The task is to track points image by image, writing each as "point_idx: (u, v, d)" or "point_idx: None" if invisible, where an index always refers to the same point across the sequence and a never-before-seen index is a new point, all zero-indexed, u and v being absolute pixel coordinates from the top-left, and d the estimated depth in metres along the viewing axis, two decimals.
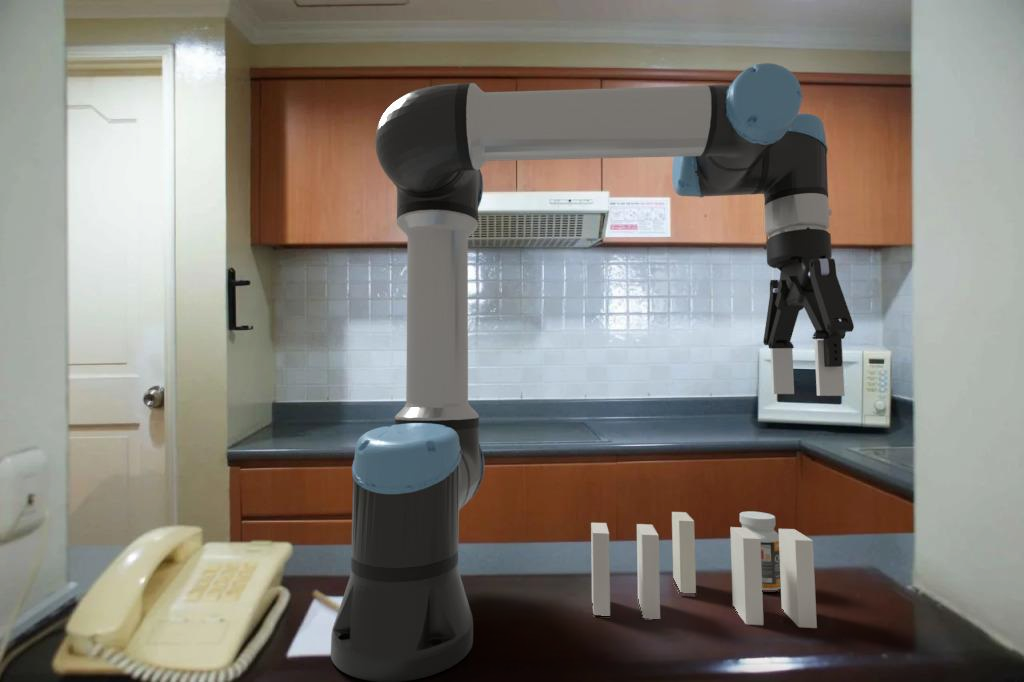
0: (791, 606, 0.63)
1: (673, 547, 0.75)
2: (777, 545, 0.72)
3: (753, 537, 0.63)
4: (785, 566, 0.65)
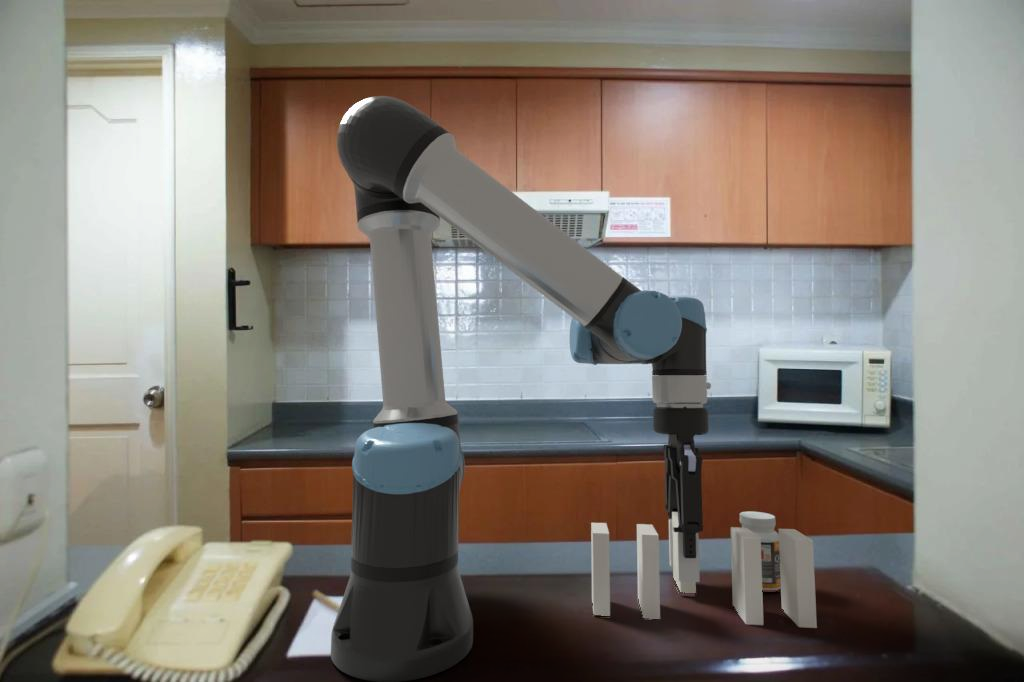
0: (791, 606, 0.63)
1: (673, 547, 0.75)
2: (777, 545, 0.72)
3: (753, 537, 0.63)
4: (786, 566, 0.65)
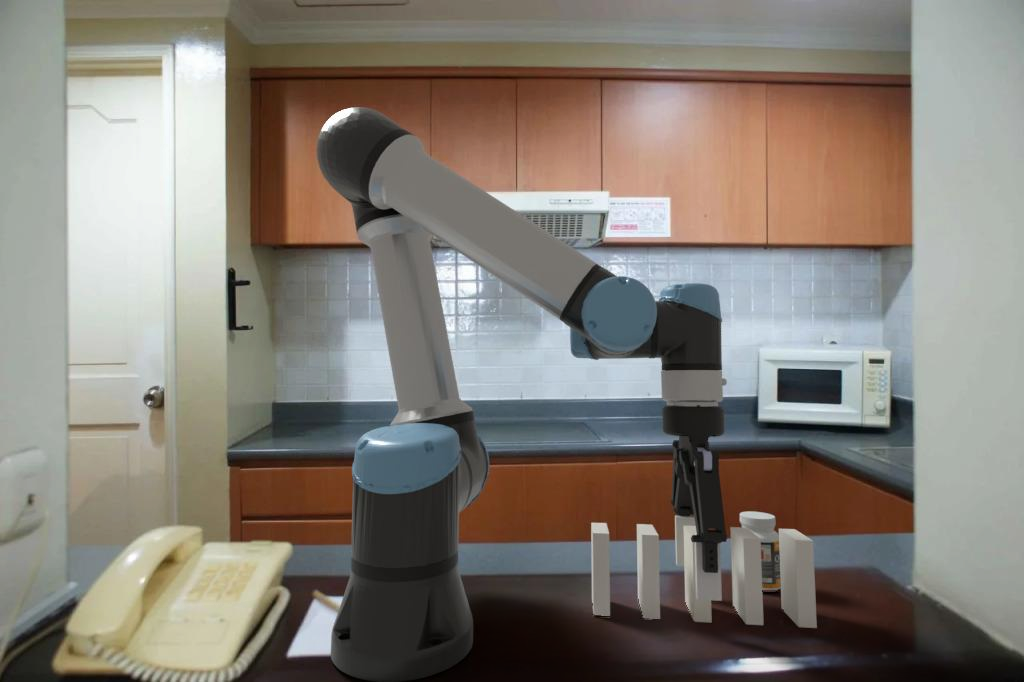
0: (791, 606, 0.63)
1: (685, 565, 0.67)
2: (777, 545, 0.72)
3: (753, 537, 0.63)
4: (786, 566, 0.65)
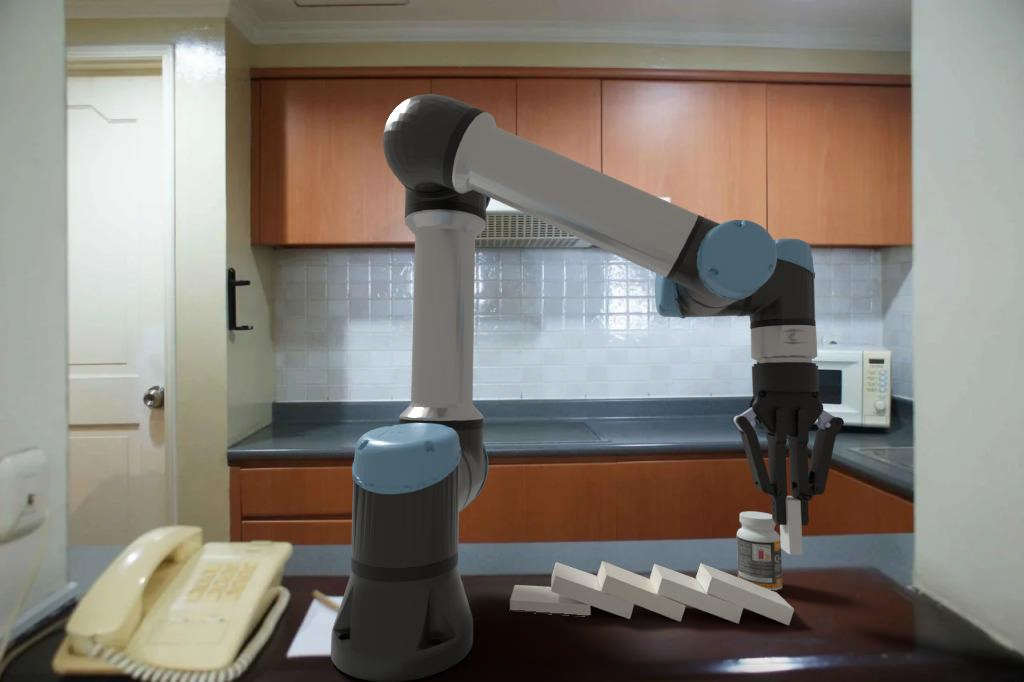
0: None
1: None
2: (777, 545, 0.72)
3: (659, 581, 0.64)
4: None
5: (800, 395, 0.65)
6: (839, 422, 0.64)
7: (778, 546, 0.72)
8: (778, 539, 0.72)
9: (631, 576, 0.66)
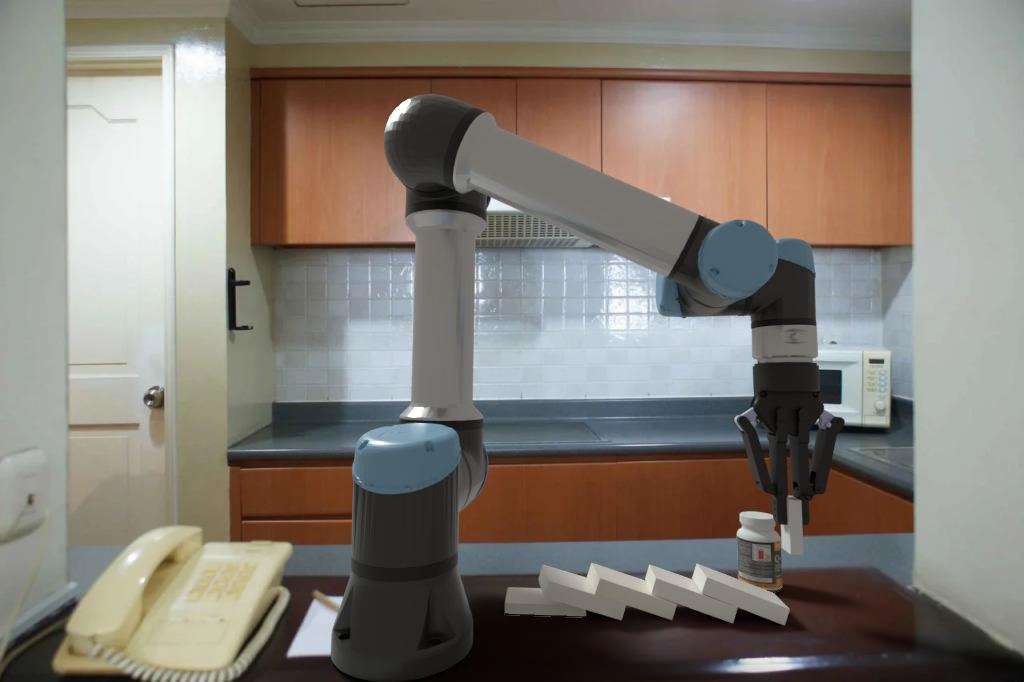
0: None
1: None
2: (777, 545, 0.72)
3: (653, 581, 0.64)
4: None
5: (801, 395, 0.65)
6: (840, 422, 0.64)
7: (778, 546, 0.72)
8: (778, 539, 0.72)
9: (621, 577, 0.66)
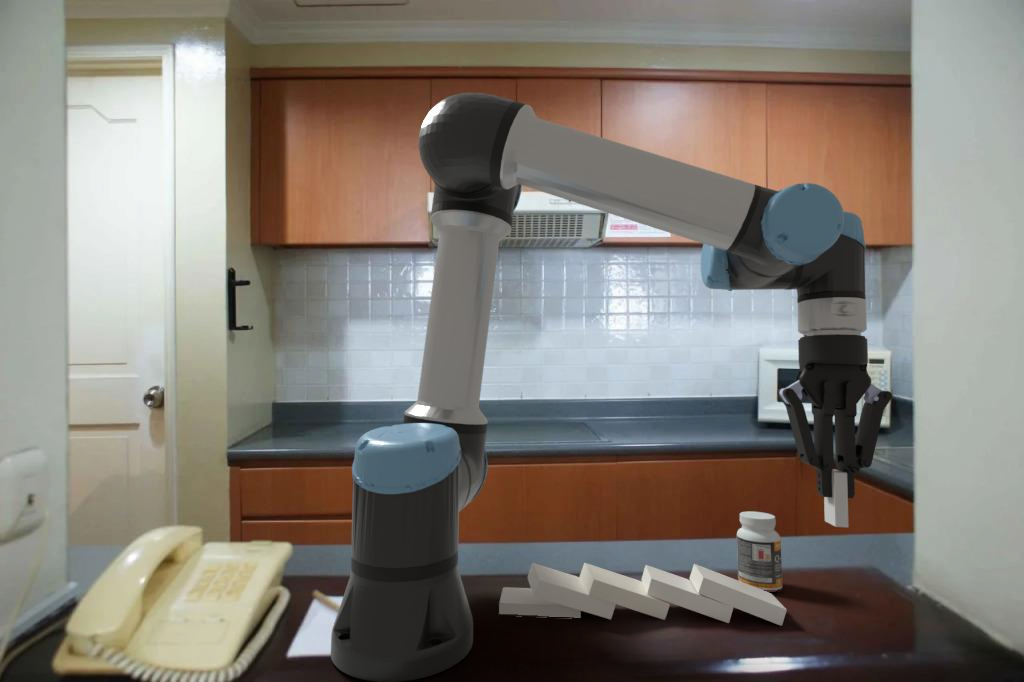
0: None
1: None
2: (777, 545, 0.72)
3: (649, 582, 0.64)
4: None
5: (848, 368, 0.65)
6: (887, 396, 0.64)
7: (778, 546, 0.72)
8: (778, 539, 0.72)
9: (614, 577, 0.66)
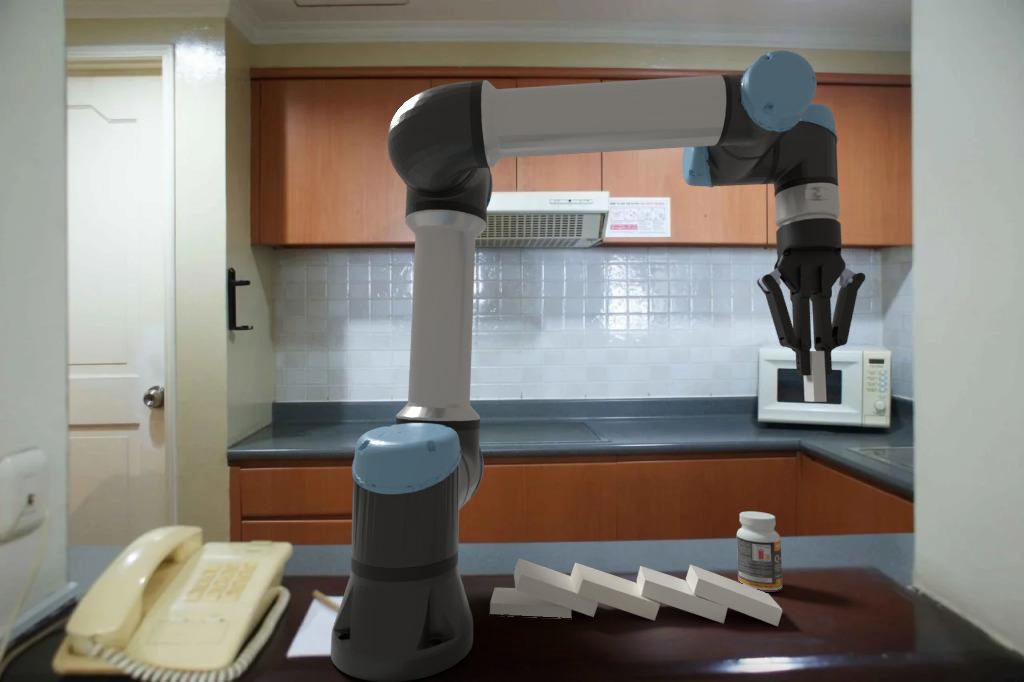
0: None
1: None
2: (777, 545, 0.72)
3: (643, 583, 0.64)
4: None
5: (823, 253, 0.68)
6: (861, 277, 0.67)
7: (778, 546, 0.72)
8: (778, 539, 0.72)
9: (605, 577, 0.66)
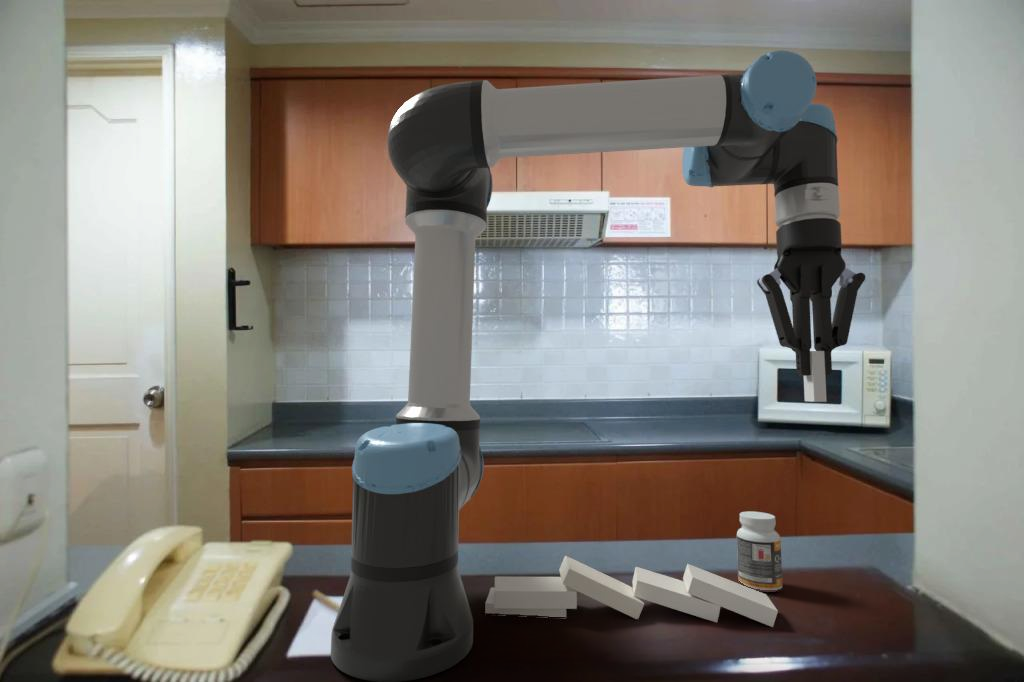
0: None
1: None
2: (777, 545, 0.72)
3: (636, 583, 0.65)
4: None
5: (823, 253, 0.68)
6: (861, 277, 0.67)
7: (778, 546, 0.72)
8: (778, 539, 0.72)
9: (593, 572, 0.66)
